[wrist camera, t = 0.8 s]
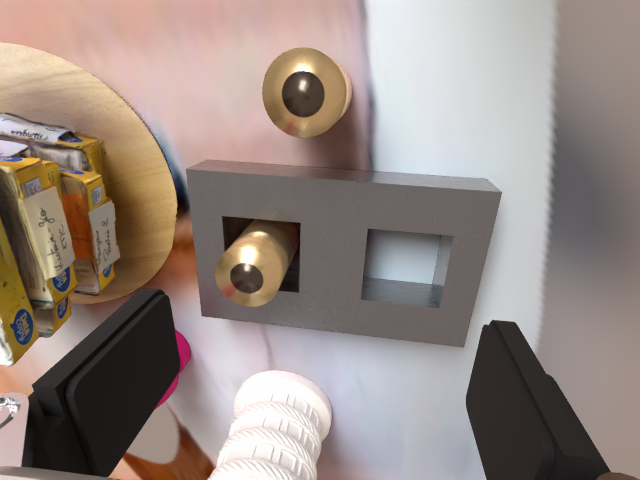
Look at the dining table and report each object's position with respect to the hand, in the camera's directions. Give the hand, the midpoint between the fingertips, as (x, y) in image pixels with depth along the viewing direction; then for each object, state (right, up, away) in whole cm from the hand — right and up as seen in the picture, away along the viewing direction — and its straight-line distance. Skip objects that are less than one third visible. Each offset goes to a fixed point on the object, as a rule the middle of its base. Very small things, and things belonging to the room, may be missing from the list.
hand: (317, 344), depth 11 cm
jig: (+2, +3, +23) cm, 23 cm away
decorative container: (-4, -17, +33) cm, 37 cm away
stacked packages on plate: (-26, +8, +25) cm, 37 cm away
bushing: (0, +15, +18) cm, 24 cm away
